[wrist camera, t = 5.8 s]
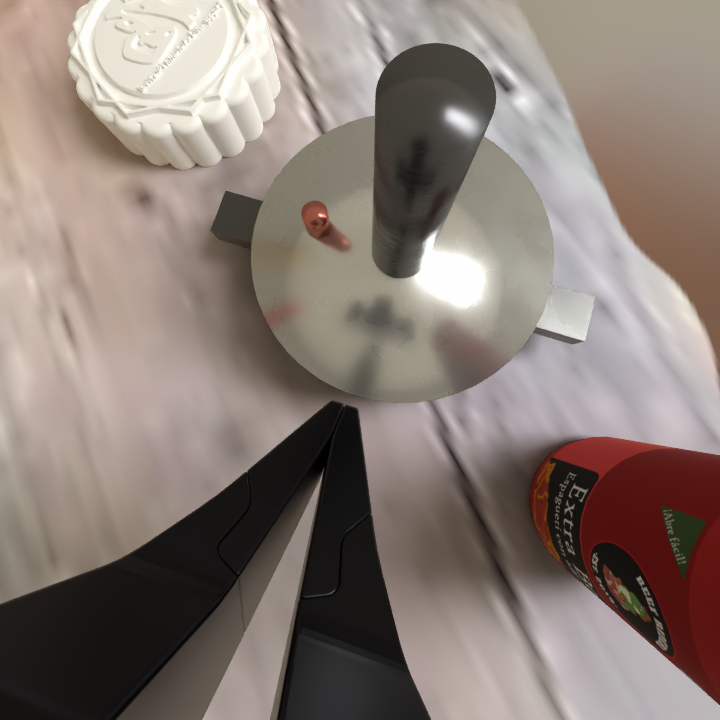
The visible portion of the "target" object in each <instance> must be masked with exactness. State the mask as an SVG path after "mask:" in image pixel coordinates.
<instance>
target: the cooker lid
mask: <svg viewBox="0 0 720 720" xmlns="http://www.w3.org/2000/svg"><path fill="white" fill-rule="evenodd" d="M495 104H496V90H495V86H494V82H493V79H492V77H491V75H490V73H489V71H488V70H487V68H486V67H485V66H484V64H483V63H482V62H481V61H480V60H479V59H478V58H476V57H475V56H474V55H473V54H471V53H469V52H468V51H466V50H464V49H462V48H459V47H456V46H453V45H448V44H441V43H430V44H423V45H419V46H415V47H412V48H410V49H408V50H406V51H404V52H402V53H400V54H399V55H398V56H396V57H395V58H394V59H393V60H392V61H391V62H390V63H389V64H388V65H387V66H386V68H385V69H384V71H383V72H382V74H381V76H380V78H379V81H378V84H377V88H376V100H375V116H371V117H366V118H362V119H359V120H355V121H352V122H349V123H346V124H344V125H342V126H339V127H337V128H335V129H332V130H331V131H329V132H327V133H325V134H324V135H322V136H320V137H318V138H317V139H315V140H314V141H312V142H311V143H310V144H308V145H307V146H306V147H304V148H303V149H302V150H301V151H300V152H299V153H298V154H297V155H295V156H294V157H293V158H292V159H291V160H290V161H289V162H288V163H287V165H286V166H285V167H284V168H283V170H282V171H281V172H280V173H279V175H278V176H277V177H276V179H275V180H274V182H273V184H272V185H271V187H270V188H269V190H268V192H267V194H266V196H265V198H264V200H263V203H262V205H261V207H260V209H259V213H258V216H257V219H256V223H255V226H254V231H253V238H252V244H251V269H252V278H253V285H254V288H255V292H256V296H257V300H258V303H259V305H260V308H261V310H262V313H263V315H264V318H265V320H266V322H267V323H268V325H269V327H270V328H271V330H272V332H273V334H274V335H275V337H276V338H277V339H278V341H279V342H280V343H281V345H282V346H283V347H284V348H285V350H286V351H287V352H288V353H289V354H290V355H291V356H292V357H293V358H294V359H295V360H296V361H297V362H298V363H299V364H300V365H301V366H302V367H304V368H305V369H306V370H308V371H309V372H310V373H312V374H313V375H314V376H316V377H317V378H319V379H320V380H322V381H324V382H326V383H328V384H329V385H331V386H333V387H335V388H337V389H340V390H342V391H345V392H347V393H350V394H352V395H355V396H359V397H363V398H367V399H371V400H375V401H384V402H393V403H409V402H422V401H429V400H435V399H440V398H443V397H446V396H450V395H453V394H457V393H459V392H461V391H464V390H466V389H468V388H470V387H473V386H475V385H477V384H478V383H480V382H482V381H483V380H485V379H487V378H488V377H490V376H491V375H493V374H494V373H496V372H497V371H498V370H499V369H500V368H502V367H503V366H504V365H505V364H507V363H508V362H509V361H510V360H511V359H512V358H513V357H514V356H515V355H516V353H517V352H518V351H519V350H520V349H521V348H522V347H523V346H524V344H525V343H526V341H527V340H528V339H529V337H530V336H531V334H532V333H533V331H534V330H535V328H536V326H537V324H538V322H539V320H540V318H541V316H542V314H543V312H544V309H545V306H546V303H547V300H548V297H549V294H550V289H551V284H552V279H553V270H554V248H553V237H552V232H551V228H550V224H549V220H548V216H547V214H546V211H545V208H544V206H543V203H542V201H541V199H540V197H539V195H538V193H537V191H536V189H535V188H534V186H533V184H532V182H531V181H530V180H529V178H528V177H527V176H526V174H525V173H524V171H523V170H522V169H521V167H520V166H519V165H518V164H517V163H516V162H515V161H514V160H513V159H512V158H511V157H510V156H509V155H508V154H507V153H506V152H505V151H503V150H502V149H501V148H500V147H498V146H497V145H496V144H495V143H494V142H492V141H490V140H489V139H487V138H486V137H484V134H485V131H486V129H487V127H488V125H489V122H490V120H491V118H492V115H493V113H494V109H495Z"/></svg>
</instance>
